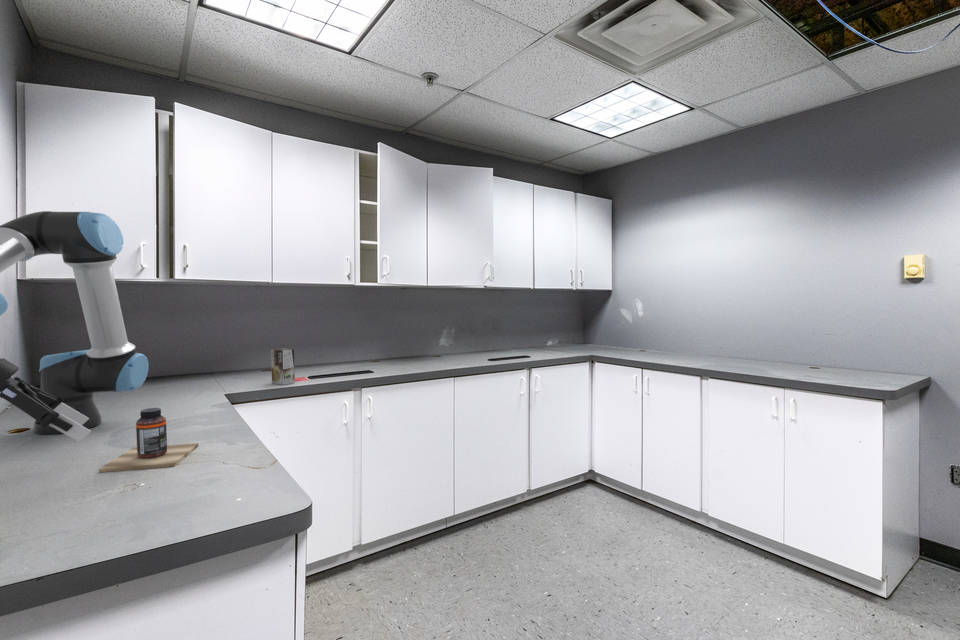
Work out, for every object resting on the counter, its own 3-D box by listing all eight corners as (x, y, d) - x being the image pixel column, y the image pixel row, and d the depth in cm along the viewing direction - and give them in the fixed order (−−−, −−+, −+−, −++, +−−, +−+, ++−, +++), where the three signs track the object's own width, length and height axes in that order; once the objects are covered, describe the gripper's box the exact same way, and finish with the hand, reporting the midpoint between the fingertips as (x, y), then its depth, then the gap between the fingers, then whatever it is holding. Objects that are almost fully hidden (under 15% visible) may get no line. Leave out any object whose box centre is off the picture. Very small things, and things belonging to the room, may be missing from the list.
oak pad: (132, 450, 116) (132, 447, 116) (198, 446, 119) (198, 443, 119) (99, 472, 101) (98, 468, 101) (174, 466, 105) (174, 462, 105)
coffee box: (295, 383, 212) (294, 348, 211) (283, 385, 206) (282, 350, 206) (283, 381, 217) (282, 347, 216) (271, 383, 211) (270, 349, 211)
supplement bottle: (142, 452, 112) (140, 407, 111) (170, 449, 114) (169, 405, 113) (133, 460, 106) (131, 413, 106) (163, 457, 108) (161, 410, 108)
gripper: (-28, 377, 98) (69, 431, 109) (-50, 396, 80) (69, 458, 91) (6, 351, 101) (97, 405, 112) (-8, 363, 83) (102, 427, 94)
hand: (84, 429), depth 102 cm, fingers open, 13 cm apart
